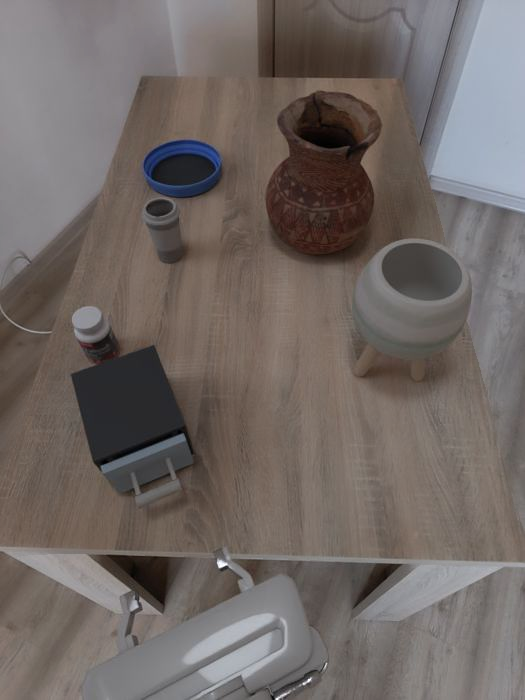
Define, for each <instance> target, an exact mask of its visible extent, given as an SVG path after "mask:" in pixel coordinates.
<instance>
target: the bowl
mask: <svg viewBox="0 0 525 700" xmlns="http://www.w3.org/2000/svg"><path fill="white" fill-rule="evenodd" d="M222 162H223V160H222V156H221V154H220V152H219V151H218V150H217V148H215V146H213V145H211V144H209V143H207V142H204V141H202V140H196V139H189V138H186V139H175V140H171V141H167V142H164V143H162V144H160V145H158V146H155V147H154V148H152V149H151V150H149V152H148V153H147V154H146V155H145V157H144V159H143V161H142V172H143V176H144V177H145V179H146V180H147V182H148V184H149V186H151V188H152V189H153V190H155V191H156V192H158V193H159V194H162V195H165V196H168V197H173V198H188V197H193V196H197V195H200V194H202V193H204V192H206V191H208V190H210V189H211V188H212V187H213V186H214V185H215V184H216V183H217V182H218V181H219V178H220V174H221V171H222V165H223V164H222Z"/></svg>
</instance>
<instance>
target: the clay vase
mask: <svg viewBox="0 0 525 700" xmlns="http://www.w3.org/2000/svg"><path fill="white" fill-rule="evenodd" d="M276 124H277V126H278V129H279V130H280V133H281V134H282V135H283V137H284V138H285V140H286V143H287V144H288V145H287V146H288V151H289V156H288V157H286V158H285V159H283V160H282V161H281V162H280V163H279V164H278V165H277V167H276V168H275V169H274V171H273V172H272V175H271V176H270V178H269V180H268V183H267V186H266V188H265V189H266V190H265V208H266V214H267V217H268V220H269V223H270V225H271V227H272V229H273V231H274V232H275V234H276V235H277V236H278V238H279V239H280V240H281V241H282V242H283V243H284V244H286V245H287V246H288V247H290V248H292V249H294V250H296V251H298V252H300V253H305V254H310V255H328V254H331V253H336V252H339V251H341V250H344V249H346V248H348V247H349V246H350V245H352V244H354V243H355V242H356V241H357V240H358V239H359V238H360V237H361V235H362V234H363V232H364V231H365V229H366V227H367V226H368V223H369V221H370V219H371V217H372V214H373V211H374V207H375V206H374V205H375V191H374V187H373V183H372V181H371V178H370V177H369V175H368V173H367V171H366V169H365V167H364V166H363V165H362V161H363V158H364V156H365V154H366V152H367V151H368V150H369V149H370V147H372V146H373V145H374V144H375V143H376V142H377V140H378V139H379V137H380V136H381V133H382V127H383V123H382V119H381V116H379V113H378V111H377V110H376V109H375V108H373V106H372V105H371V104H369V103H367V102H366V101H364V100H362V99H359V98H357V97H355V96H354V95H353V94H350V93H346V92H343V91H342V92H341V91H327V90H316V91H313V92H311V93H310V94H308V95H307V96H303V97H301V96H300V97H298V98H296V99H295V100H292V101H291V102H290V103H289V104H288V105H287V107H284V108H283V109H282V110H280V112H278V114H277V118H276Z"/></svg>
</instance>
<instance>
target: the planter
mask: <svg viewBox="0 0 525 700" xmlns="http://www.w3.org/2000/svg"><path fill="white" fill-rule="evenodd" d="M472 298H473V284H472V277H471V274H470V271H469V269H468V267H467V264H466V263H465V261H464V260H463V259H462V258H461V256H460V255H458V254H457V252H455V251H454V250H453V249H451V248H449V247H448V246H446V245H444V244H441V243H439V242H437V241H433V240H429V239H425V238H403V239H399V240H395V241H392V242H389V244H387V245H385V246H384V247H382V248H381V249H380V250H379V251H377V252H376V253H375V254H374V255H373V256H372V258H370V260H369V261H368V262H367V263H366V265H365V266H364V267H363V269H362V271H361V273H360V274H359V276H358V278H357V281H356V284H355V287H354V290H353V293H352V299H351V312H352V318H353V322H354V325H355V327H356V329H357V331H358V333H359V334H360V336H361V337H362V338H363V340H364V341H365V342H366V343H367V344H366V346H365V348H364V349H363V351H362V353H361V355H360V356H359V358H358V359H357V361H356V363H355V365H354V367H353V368H352V369H353V371H352V372H353V374H354V375H355V376H356V377H358V378H359V377H360V378H361V377H364V376H365V375H366V374H367V373H368V371H369V370H370V368H371V367H372V366H373V364H374V363H375V362H376V360H377V359H378V357H379V356H380V355H381V354H382V355H385V356H387V357H389V358H392V359H398V360H403V361H404V360H406V361H409V368H410V377H411V379H412V380H413V381H415V382H421V381H423V379H424V378H425V370H426V358H429V357H432V356H434V355H436V354H437V355H438V354H439V353H441V352H442V351H443V350H445V349H447V348H448V347H449V346H450V345H451V344H453V342H454V341H455V340H456V339H457V337H458V336H459V335H460V333H461V331H462V330H463V328H464V326H465V324H466V322H467V320H468V318H469V317H468V316H469V313H470V310H471V307H472Z"/></svg>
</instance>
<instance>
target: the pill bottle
mask: <svg viewBox="0 0 525 700" xmlns="http://www.w3.org/2000/svg"><path fill="white" fill-rule="evenodd" d="M71 323H72V325H73V333H74V336H75V338H76V340H77V342H78V344H79V346H80V347H81V349H82V352H83V353H84V354H85V357H86V359H88V361H89V362H90V363H92V364H95V365H98V364H100V363H103V362H106V361H109V360H112V359H115V358H118V355H119V353H120V344H119V342H118V339H117V337H116V335H115V333H114V330H113V328H112V326H111V323H110V321H109V320H108V318H107V317H105V316H104V314H103V313H102V311H101V309H99V308H98V307H97V306H92V305H87V306H86V305H85V306H82V307H80V308H78V309H77V310H76V311H75V312H74V313H73V315H72V317H71Z"/></svg>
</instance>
